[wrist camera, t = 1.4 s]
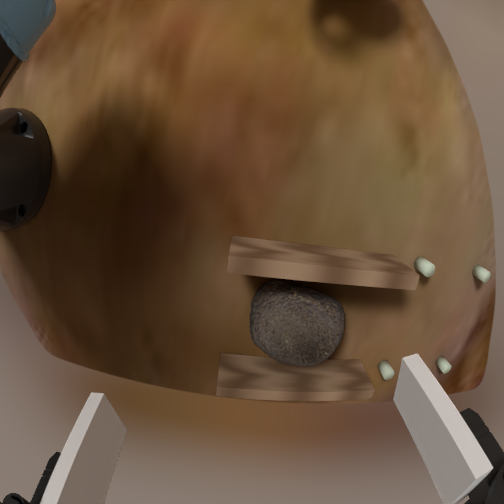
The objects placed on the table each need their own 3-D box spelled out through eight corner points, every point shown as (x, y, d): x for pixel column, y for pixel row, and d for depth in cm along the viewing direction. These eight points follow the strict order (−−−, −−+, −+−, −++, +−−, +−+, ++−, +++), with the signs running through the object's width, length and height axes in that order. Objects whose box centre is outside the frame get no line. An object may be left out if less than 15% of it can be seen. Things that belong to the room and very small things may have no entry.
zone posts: (376, 369, 36) (382, 380, 34) (416, 255, 31) (426, 263, 28) (441, 364, 36) (448, 373, 34) (481, 265, 31) (491, 271, 29)
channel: (219, 361, 35) (216, 395, 29) (232, 235, 30) (228, 255, 24) (356, 368, 36) (370, 398, 30) (393, 255, 31) (419, 275, 25)
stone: (246, 316, 37) (284, 385, 32) (225, 299, 29) (273, 388, 25) (313, 276, 37) (356, 342, 32) (310, 248, 29) (366, 332, 25)
